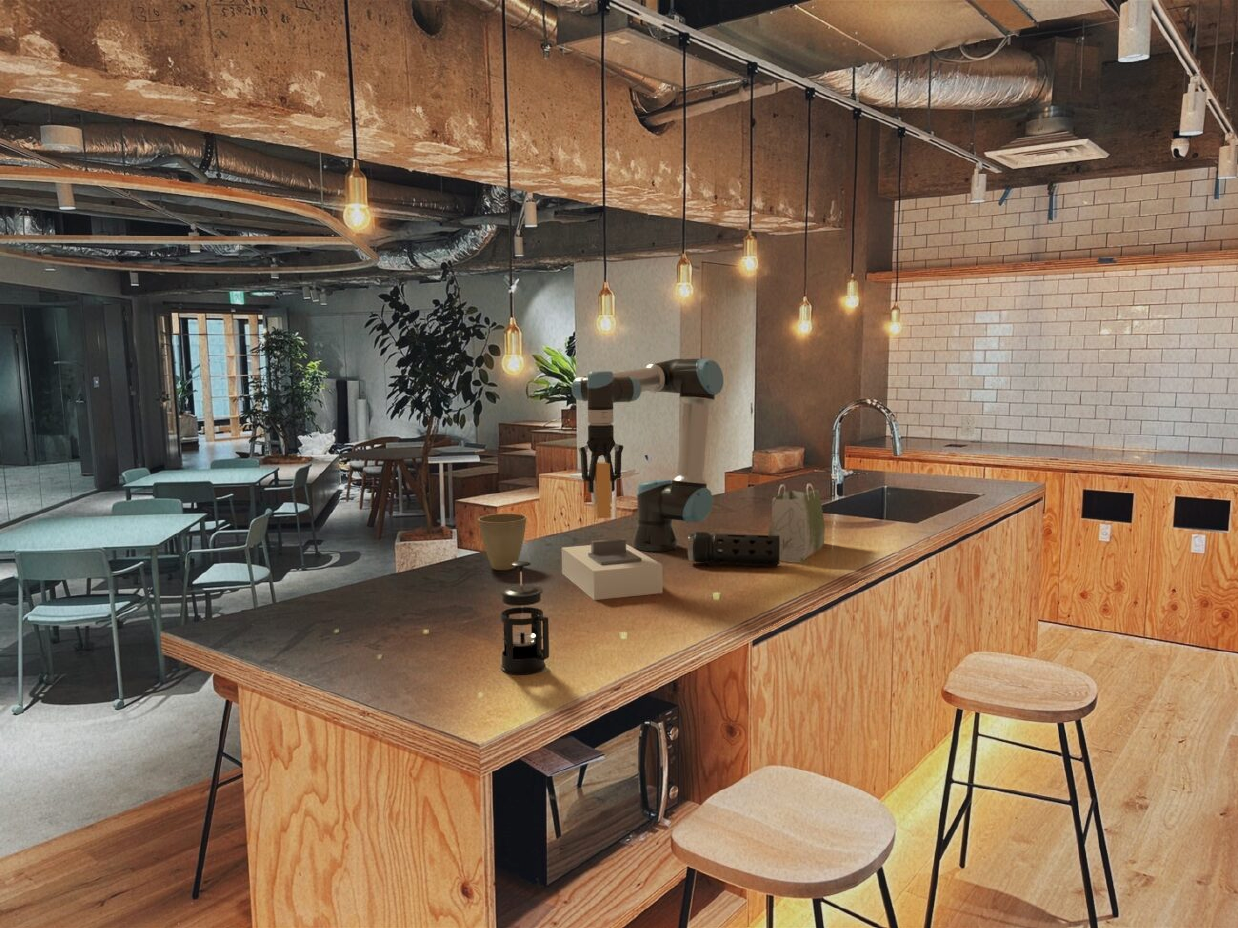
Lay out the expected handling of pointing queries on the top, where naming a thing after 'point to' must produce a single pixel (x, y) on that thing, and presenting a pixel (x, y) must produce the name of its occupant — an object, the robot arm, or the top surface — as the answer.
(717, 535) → the muzzle brake
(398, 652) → the top surface
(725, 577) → the top surface
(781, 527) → the grocery bag
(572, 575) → the socket block
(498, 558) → the plant pot
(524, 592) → the french press
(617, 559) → the shutter
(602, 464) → the plug peg
